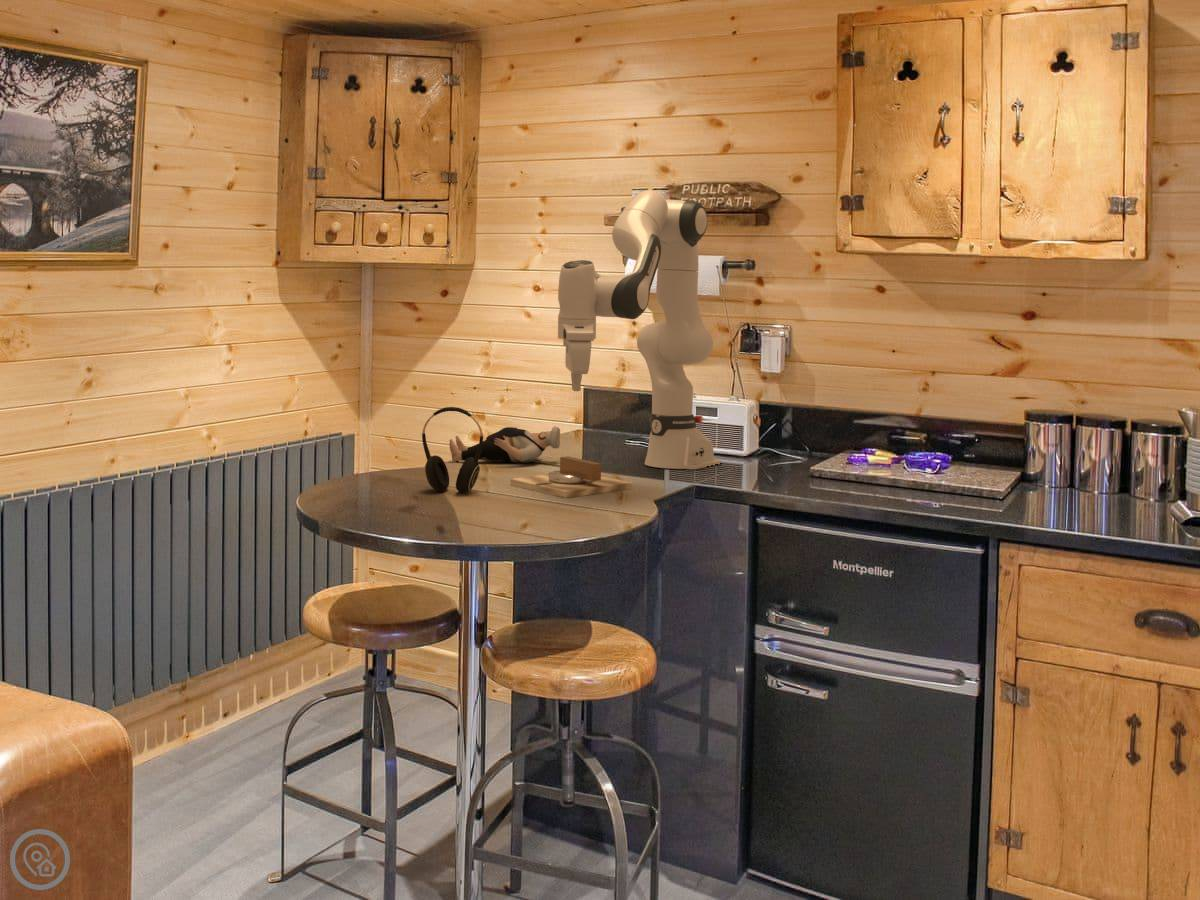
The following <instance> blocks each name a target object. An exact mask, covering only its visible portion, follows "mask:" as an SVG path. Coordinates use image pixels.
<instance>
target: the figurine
mask: <svg viewBox="0 0 1200 900" xmlns="http://www.w3.org/2000/svg"><path fill="white" fill-rule="evenodd" d="M560 435H561V428H560V427H558V426H553V427H552V428H551V430H548V431H540V432H531V431H528V430H526V429H522V428H517V427H511V426H508V427H503V428H502V429H500V430H498V431H496V432H494V433H491V434H490V435H487V436H486V438H485V440H483V446H482V450H481V454H480V457H479V460H480V459H486V460H490V461H498V462H499V461H501V462H504V463H509V464H511V463H521V464H522V463H526V464H527V463H532V462H535V461H536V460H537V459H539V458H540V457H541V456H542V454H543V453H544V451H545V450H546V449H547V448H548V447H551V448H552V449H559V448H560V445H561V438H560V437H561V436H560ZM478 446H479V443H477V444H475V445H472V446H469V447H467V446H466V445H465V444H464V443H463V442H462V440H461V439H460V437H459V436H458V435H455V442H454V440H453V439H451V438H450V439H449V450H450V454H451V460H452V462H453V461H458V462H462V461H463V462H464V461H465V460H466V459H467V458H469V457H473V458H475V455H476V452H477V450H478ZM459 460H460V461H459ZM458 462H457V463H458Z"/></svg>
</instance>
